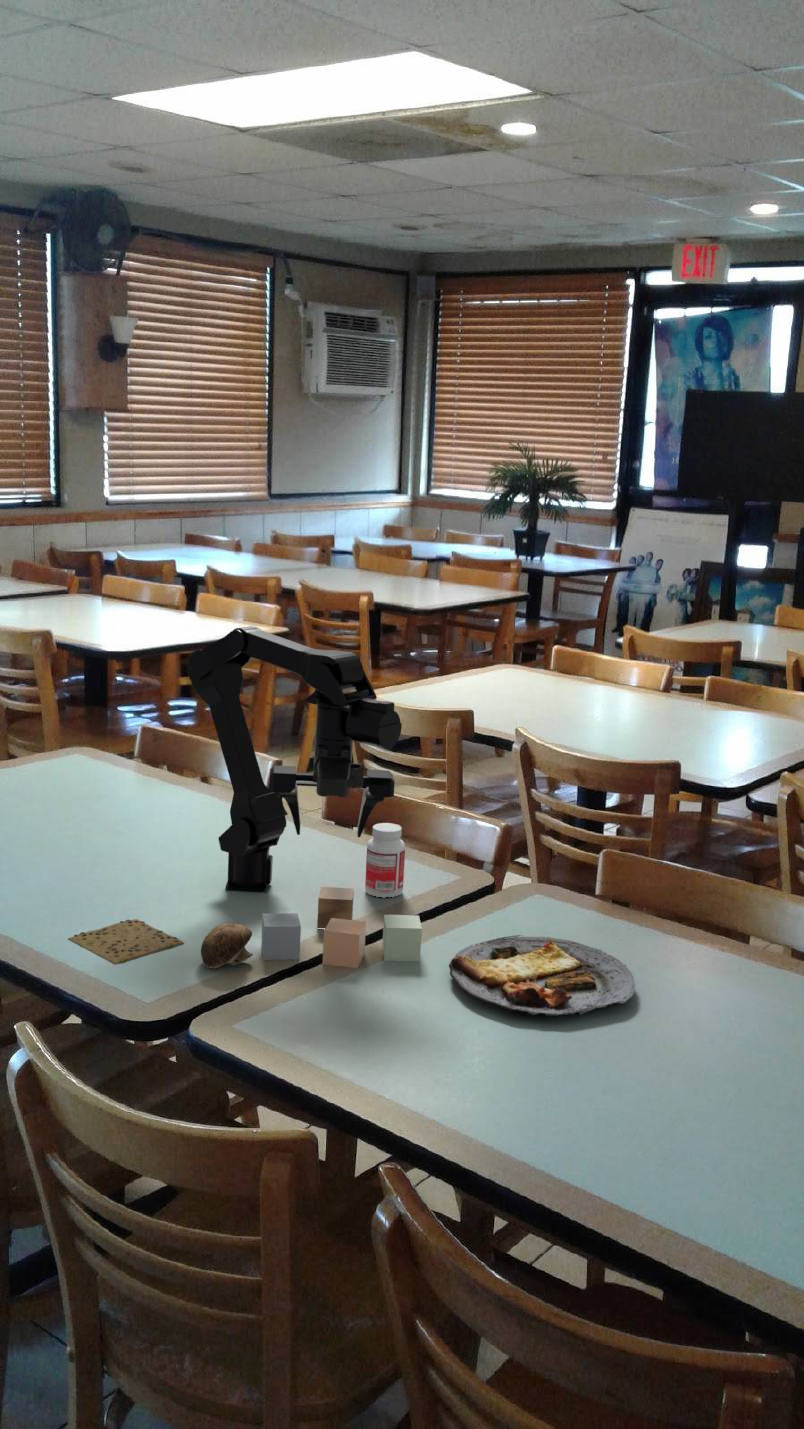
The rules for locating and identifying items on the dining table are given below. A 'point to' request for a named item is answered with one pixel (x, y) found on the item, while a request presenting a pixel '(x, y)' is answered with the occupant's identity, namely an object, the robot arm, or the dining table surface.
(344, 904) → the walnut cube
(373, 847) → the pill bottle
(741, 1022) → the dining table surface
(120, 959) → the cookie
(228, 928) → the mushroom
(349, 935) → the terracotta cube
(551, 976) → the food plate
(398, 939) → the sage cube
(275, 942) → the slate cube
